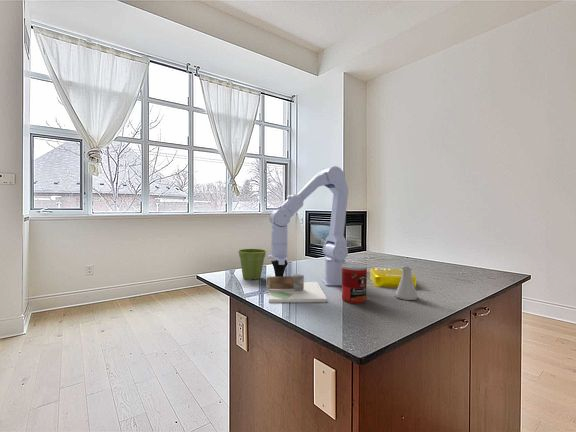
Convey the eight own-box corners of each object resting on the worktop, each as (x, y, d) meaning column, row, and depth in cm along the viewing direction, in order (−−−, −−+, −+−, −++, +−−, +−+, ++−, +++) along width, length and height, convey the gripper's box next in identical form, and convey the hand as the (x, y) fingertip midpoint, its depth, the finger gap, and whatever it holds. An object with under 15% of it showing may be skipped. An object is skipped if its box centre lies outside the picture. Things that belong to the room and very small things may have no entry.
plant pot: (265, 281, 118) (265, 253, 117) (234, 281, 118) (234, 252, 118) (267, 274, 130) (268, 248, 129) (240, 274, 130) (240, 248, 129)
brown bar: (303, 286, 106) (303, 274, 106) (304, 289, 102) (304, 276, 102) (266, 287, 105) (266, 274, 105) (266, 290, 101) (266, 277, 101)
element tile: (375, 288, 112) (375, 275, 112) (369, 278, 127) (369, 266, 127) (417, 289, 111) (417, 276, 110) (406, 279, 126) (406, 267, 125)
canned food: (352, 305, 92) (353, 269, 91) (336, 297, 99) (336, 264, 98) (371, 301, 95) (372, 266, 95) (354, 294, 102) (355, 262, 102)
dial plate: (317, 284, 114) (317, 281, 114) (326, 302, 94) (326, 298, 94) (269, 285, 113) (269, 281, 113) (268, 302, 93) (268, 298, 93)
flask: (417, 295, 102) (418, 266, 102) (418, 302, 95) (419, 270, 95) (394, 293, 104) (395, 264, 104) (394, 299, 98) (395, 268, 97)
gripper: (266, 240, 115) (266, 276, 116) (269, 246, 101) (269, 286, 102) (285, 240, 116) (284, 275, 117) (290, 245, 102) (290, 286, 103)
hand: (279, 280), depth 109 cm, fingers closed
